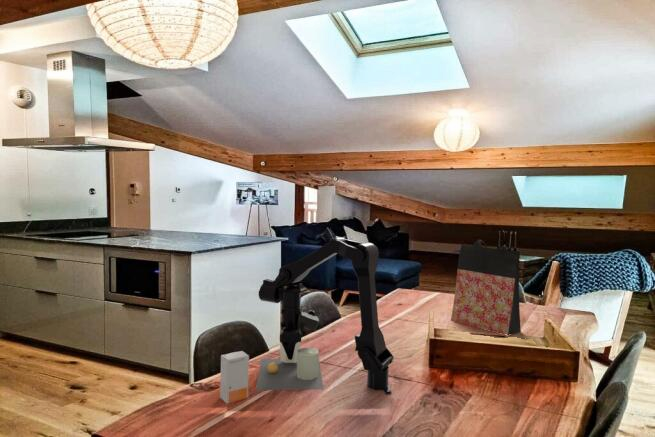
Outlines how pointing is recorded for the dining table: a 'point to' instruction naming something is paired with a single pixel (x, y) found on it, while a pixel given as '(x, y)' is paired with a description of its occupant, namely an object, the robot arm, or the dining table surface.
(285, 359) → the cream cup
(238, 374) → the skincare box
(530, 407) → the dining table surface
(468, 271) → the gift bag
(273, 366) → the amber marble
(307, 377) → the sage cup
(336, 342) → the dining table surface
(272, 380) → the mat
